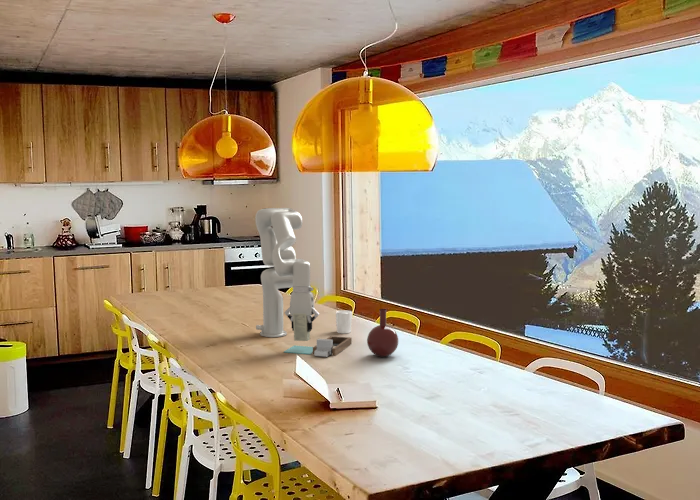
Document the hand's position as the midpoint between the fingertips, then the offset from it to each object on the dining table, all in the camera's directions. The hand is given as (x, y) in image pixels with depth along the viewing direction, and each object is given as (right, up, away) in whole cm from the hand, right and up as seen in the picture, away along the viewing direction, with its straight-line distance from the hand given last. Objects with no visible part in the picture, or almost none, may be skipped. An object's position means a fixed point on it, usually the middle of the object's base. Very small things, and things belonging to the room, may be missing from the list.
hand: (301, 330), depth 325 cm
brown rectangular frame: (+13, -9, +3) cm, 16 cm away
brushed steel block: (+10, -9, -8) cm, 16 cm away
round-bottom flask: (+35, -10, -9) cm, 37 cm away
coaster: (0, -9, +1) cm, 9 cm away
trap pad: (+16, -8, +11) cm, 21 cm away
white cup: (+18, -5, +38) cm, 42 cm away
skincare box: (0, -4, 0) cm, 4 cm away
